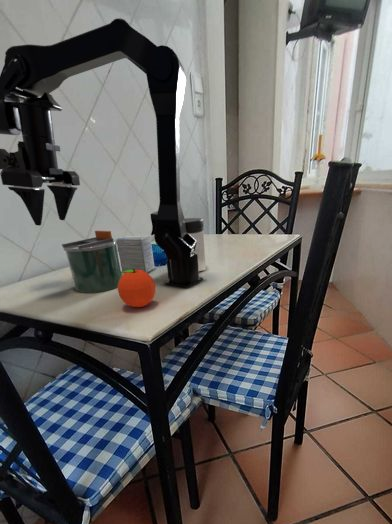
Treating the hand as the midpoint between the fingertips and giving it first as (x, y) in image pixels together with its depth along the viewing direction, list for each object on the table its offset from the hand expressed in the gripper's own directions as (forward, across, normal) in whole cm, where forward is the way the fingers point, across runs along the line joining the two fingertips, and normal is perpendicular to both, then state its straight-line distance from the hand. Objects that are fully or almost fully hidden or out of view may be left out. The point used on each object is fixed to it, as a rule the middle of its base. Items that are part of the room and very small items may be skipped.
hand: (50, 222), depth 69 cm
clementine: (+11, +14, +24) cm, 30 cm away
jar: (+10, -13, +30) cm, 34 cm away
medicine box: (+12, -13, +16) cm, 24 cm away
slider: (+3, -2, +9) cm, 10 cm away
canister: (+13, 0, +10) cm, 16 cm away
